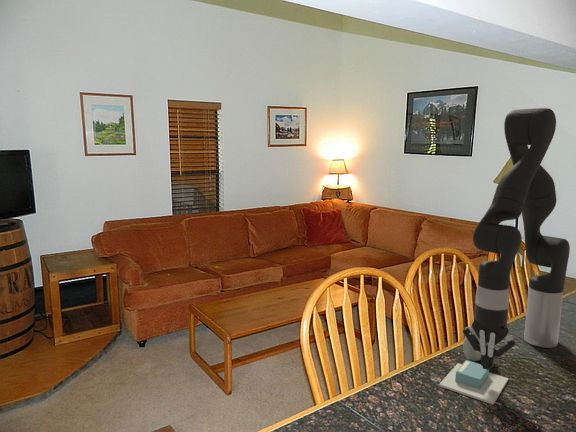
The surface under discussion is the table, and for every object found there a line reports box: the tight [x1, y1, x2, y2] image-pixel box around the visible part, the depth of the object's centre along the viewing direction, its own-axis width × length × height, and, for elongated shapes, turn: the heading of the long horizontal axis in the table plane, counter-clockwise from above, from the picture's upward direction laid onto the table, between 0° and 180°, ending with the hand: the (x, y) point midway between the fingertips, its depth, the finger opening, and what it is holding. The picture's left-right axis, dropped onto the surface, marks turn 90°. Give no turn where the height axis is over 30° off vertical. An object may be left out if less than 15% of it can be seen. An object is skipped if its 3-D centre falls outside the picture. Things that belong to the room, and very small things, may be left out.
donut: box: [462, 331, 489, 362], centre depth 128 cm, size 10×4×10 cm, turn 122°
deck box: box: [455, 359, 490, 389], centre depth 117 cm, size 8×3×6 cm
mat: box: [438, 362, 509, 405], centre depth 116 cm, size 14×13×1 cm
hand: (486, 368), depth 115 cm, fingers closed
